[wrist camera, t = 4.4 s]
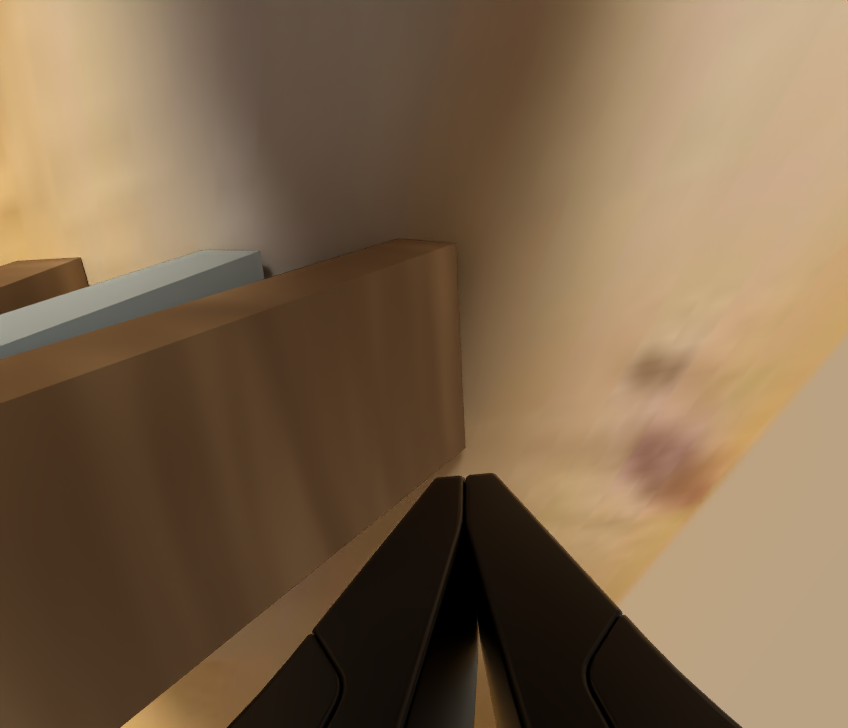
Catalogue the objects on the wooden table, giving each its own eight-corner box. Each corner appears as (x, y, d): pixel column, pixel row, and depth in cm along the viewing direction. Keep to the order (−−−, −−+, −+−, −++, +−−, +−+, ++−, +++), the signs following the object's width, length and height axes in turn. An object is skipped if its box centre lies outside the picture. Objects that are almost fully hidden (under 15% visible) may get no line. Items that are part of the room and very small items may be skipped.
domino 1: (456, 242, 13) (-159, 459, 5) (465, 447, 15) (19, 809, 7) (397, 238, 14) (-195, 418, 6) (413, 431, 16) (-28, 738, 8)
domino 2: (259, 250, 13) (-476, 520, 5) (293, 445, 15) (-190, 884, 7) (202, 249, 14) (-545, 489, 5) (241, 437, 16) (-265, 834, 7)
